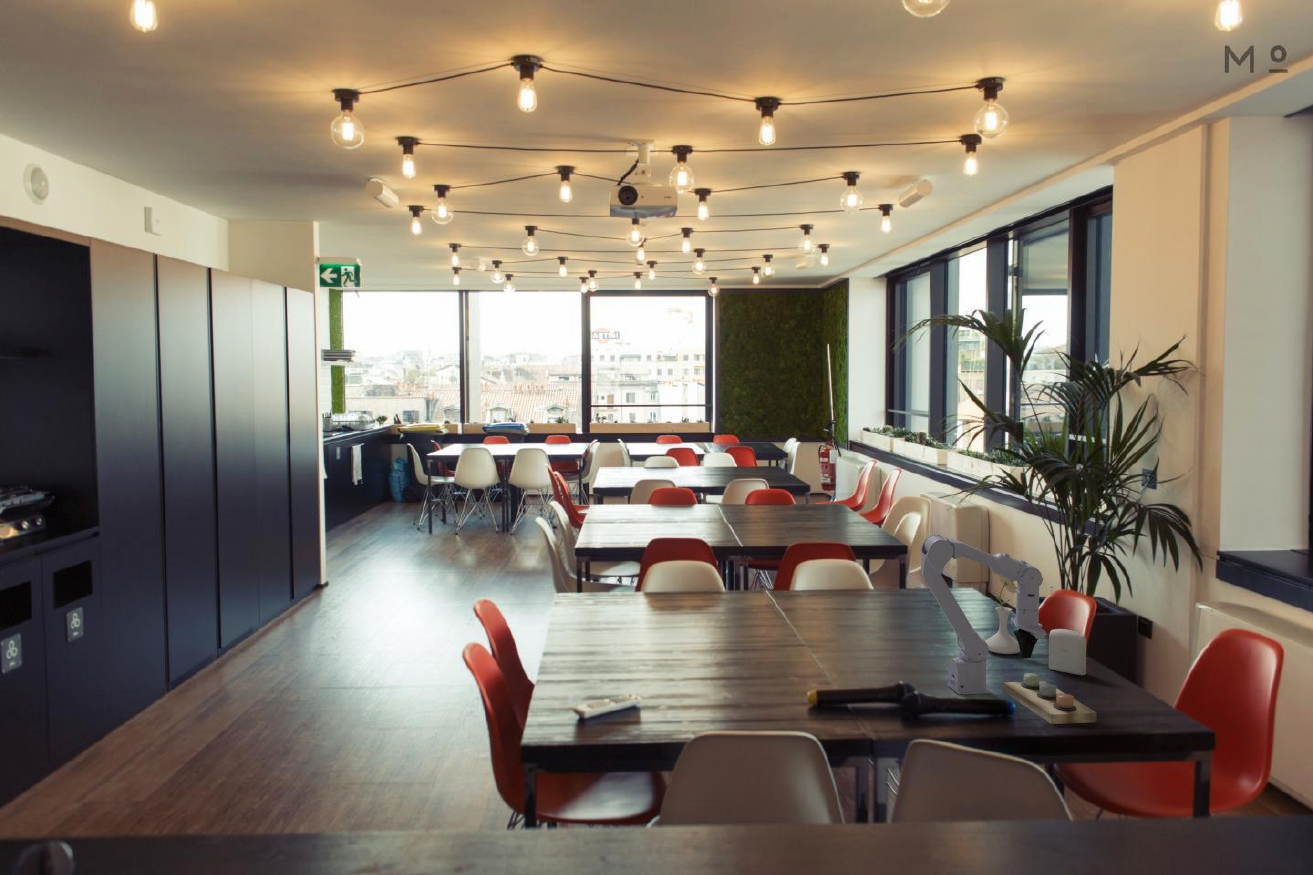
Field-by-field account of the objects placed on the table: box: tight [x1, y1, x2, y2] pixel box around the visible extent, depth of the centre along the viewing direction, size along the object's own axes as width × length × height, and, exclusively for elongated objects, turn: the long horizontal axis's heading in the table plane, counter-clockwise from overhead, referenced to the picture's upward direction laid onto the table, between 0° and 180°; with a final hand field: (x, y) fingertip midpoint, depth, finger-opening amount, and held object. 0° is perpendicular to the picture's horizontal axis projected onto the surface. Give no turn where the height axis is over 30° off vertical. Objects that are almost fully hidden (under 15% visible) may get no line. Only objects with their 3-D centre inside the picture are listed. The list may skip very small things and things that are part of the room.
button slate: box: [1039, 682, 1057, 697], centre depth 232 cm, size 4×4×2 cm
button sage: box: [1023, 672, 1041, 687], centre depth 240 cm, size 4×4×2 cm
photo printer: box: [1048, 628, 1087, 676], centre depth 260 cm, size 10×4×12 cm, turn 47°
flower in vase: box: [984, 575, 1020, 655], centre depth 280 cm, size 13×11×25 cm
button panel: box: [1002, 680, 1098, 725], centre depth 233 cm, size 12×24×3 cm, turn 6°
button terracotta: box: [1056, 692, 1075, 708], centre depth 224 cm, size 4×4×2 cm
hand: (1026, 657), depth 243 cm, fingers closed
